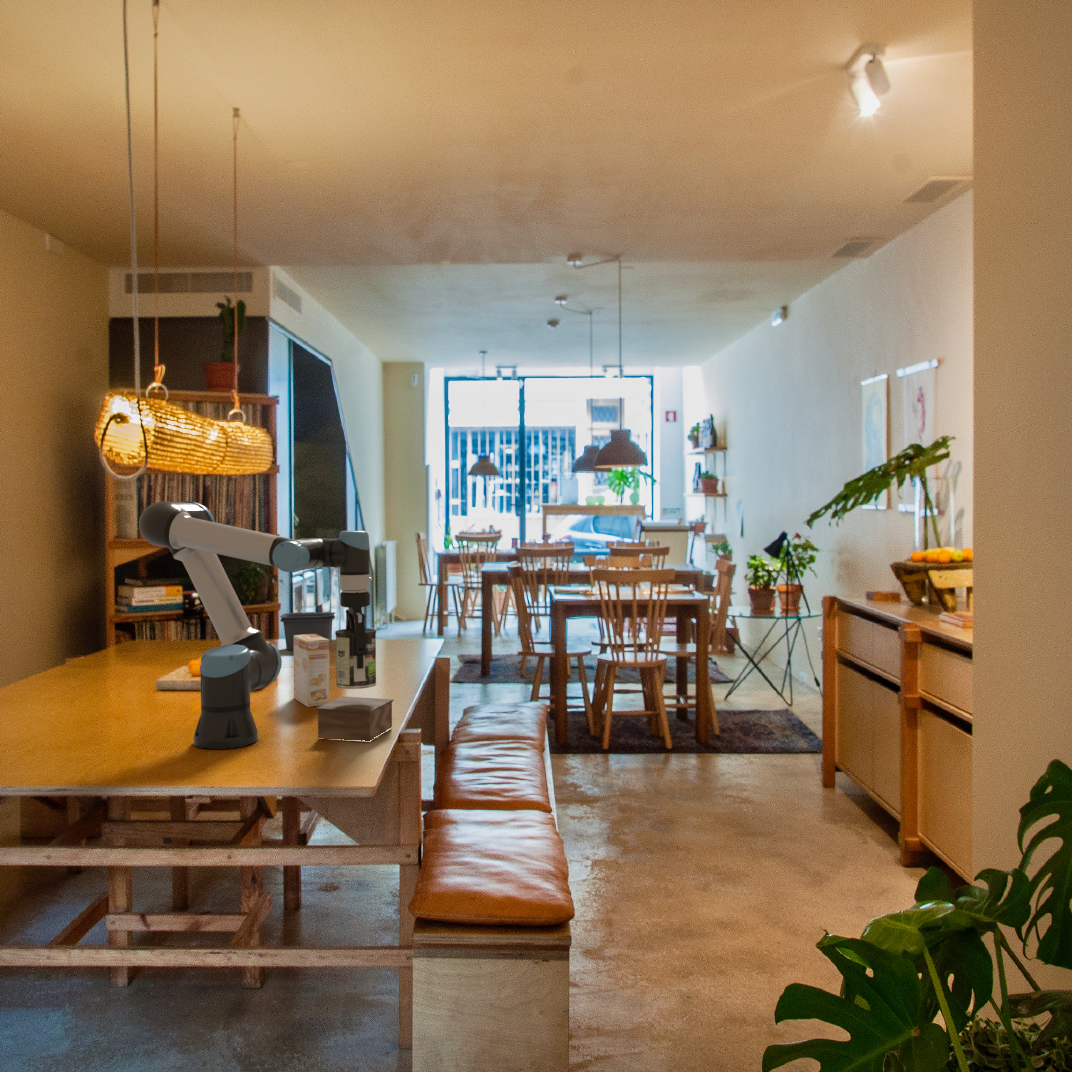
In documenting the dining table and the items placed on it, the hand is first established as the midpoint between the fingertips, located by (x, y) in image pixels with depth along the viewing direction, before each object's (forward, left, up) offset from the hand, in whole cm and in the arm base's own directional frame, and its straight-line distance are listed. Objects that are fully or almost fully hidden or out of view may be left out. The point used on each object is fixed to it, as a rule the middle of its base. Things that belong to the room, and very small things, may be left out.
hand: (355, 677), depth 238 cm
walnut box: (0, 0, -15) cm, 15 cm away
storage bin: (+125, +80, -15) cm, 149 cm away
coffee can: (0, 0, -2) cm, 2 cm away
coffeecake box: (+33, +30, -15) cm, 47 cm away
